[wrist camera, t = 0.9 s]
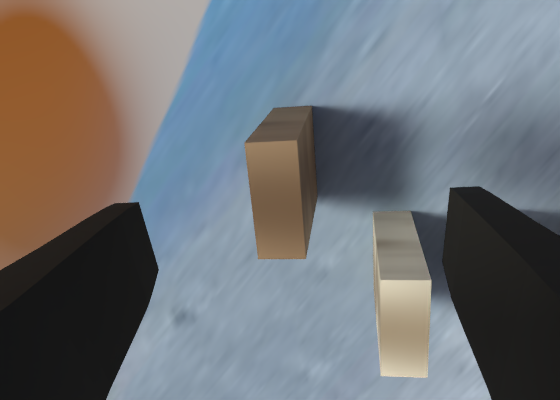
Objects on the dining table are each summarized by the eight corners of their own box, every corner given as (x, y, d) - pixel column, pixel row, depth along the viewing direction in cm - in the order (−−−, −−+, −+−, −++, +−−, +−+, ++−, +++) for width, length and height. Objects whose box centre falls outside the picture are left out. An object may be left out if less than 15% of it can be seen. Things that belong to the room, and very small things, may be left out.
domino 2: (408, 289, 26) (427, 377, 20) (373, 289, 27) (381, 375, 20) (410, 210, 24) (431, 280, 18) (372, 211, 25) (380, 280, 18)
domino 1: (317, 196, 25) (305, 258, 18) (281, 197, 25) (258, 259, 19) (311, 105, 23) (297, 140, 17) (273, 107, 23) (244, 142, 17)
